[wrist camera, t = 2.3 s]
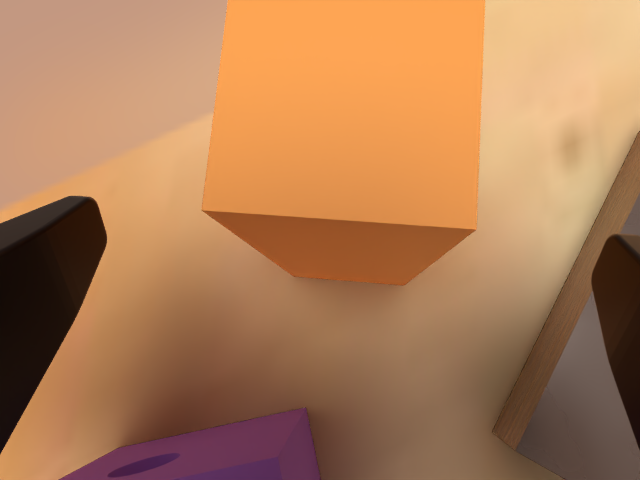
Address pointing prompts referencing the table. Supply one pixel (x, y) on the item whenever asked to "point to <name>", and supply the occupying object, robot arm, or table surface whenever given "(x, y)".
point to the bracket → (217, 454)
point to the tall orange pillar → (348, 133)
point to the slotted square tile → (578, 367)
